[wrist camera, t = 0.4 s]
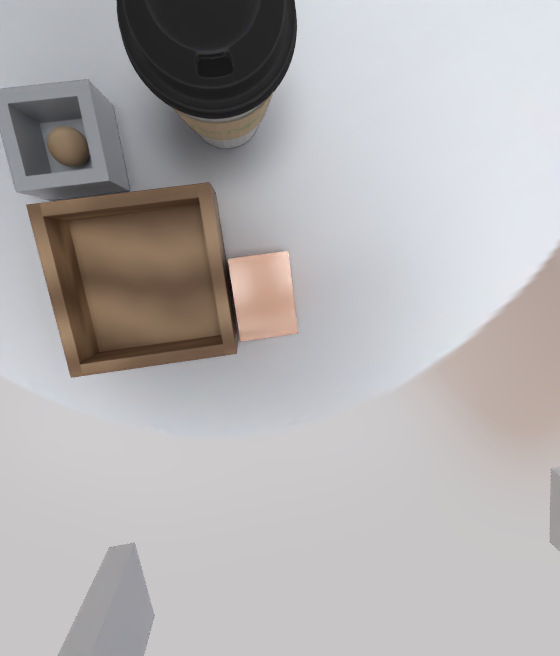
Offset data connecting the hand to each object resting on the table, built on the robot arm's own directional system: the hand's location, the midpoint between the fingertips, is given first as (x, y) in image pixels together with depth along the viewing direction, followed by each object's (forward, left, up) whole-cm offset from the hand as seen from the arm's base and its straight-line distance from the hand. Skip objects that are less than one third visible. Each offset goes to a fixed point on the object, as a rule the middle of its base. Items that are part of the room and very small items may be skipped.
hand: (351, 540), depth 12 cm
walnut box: (-8, -11, -26) cm, 30 cm away
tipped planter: (-5, -1, -26) cm, 27 cm away
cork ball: (-19, -15, -25) cm, 35 cm away
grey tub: (-19, -15, -26) cm, 36 cm away
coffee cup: (-21, -2, -26) cm, 34 cm away
